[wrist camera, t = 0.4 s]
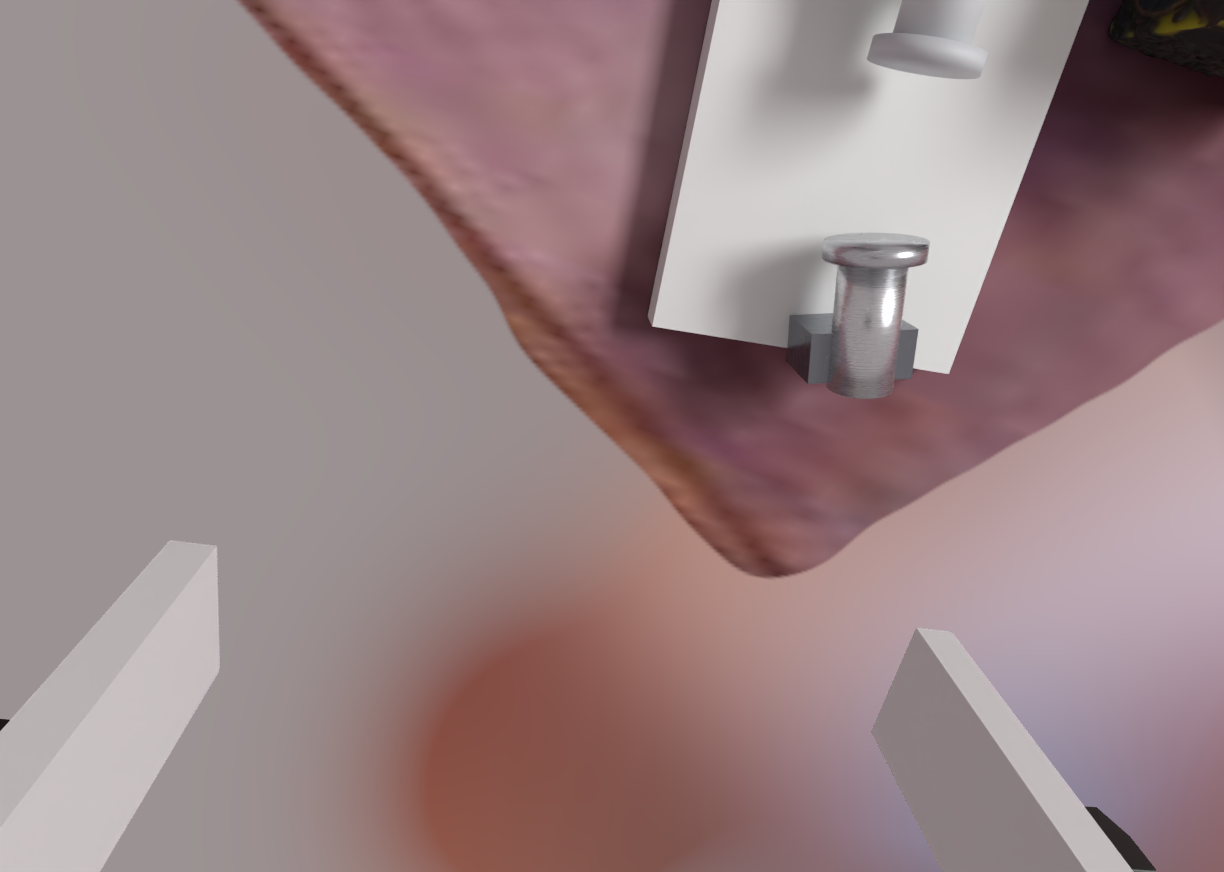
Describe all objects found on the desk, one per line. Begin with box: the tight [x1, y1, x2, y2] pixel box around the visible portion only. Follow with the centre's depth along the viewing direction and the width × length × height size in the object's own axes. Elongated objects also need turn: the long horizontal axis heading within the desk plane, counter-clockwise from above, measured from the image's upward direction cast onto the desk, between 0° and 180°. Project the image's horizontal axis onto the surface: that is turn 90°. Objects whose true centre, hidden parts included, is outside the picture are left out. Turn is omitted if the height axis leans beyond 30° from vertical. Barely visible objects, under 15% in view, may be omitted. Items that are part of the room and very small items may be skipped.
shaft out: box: [786, 233, 930, 399], centre depth 34 cm, size 7×5×6 cm
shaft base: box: [648, 0, 1089, 374], centre depth 32 cm, size 20×16×8 cm
